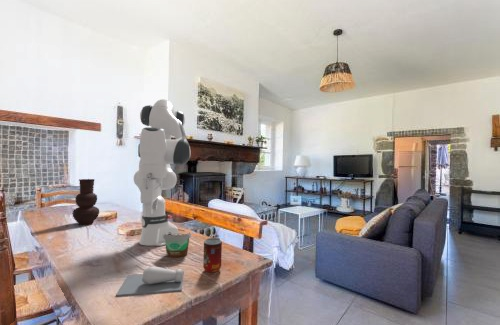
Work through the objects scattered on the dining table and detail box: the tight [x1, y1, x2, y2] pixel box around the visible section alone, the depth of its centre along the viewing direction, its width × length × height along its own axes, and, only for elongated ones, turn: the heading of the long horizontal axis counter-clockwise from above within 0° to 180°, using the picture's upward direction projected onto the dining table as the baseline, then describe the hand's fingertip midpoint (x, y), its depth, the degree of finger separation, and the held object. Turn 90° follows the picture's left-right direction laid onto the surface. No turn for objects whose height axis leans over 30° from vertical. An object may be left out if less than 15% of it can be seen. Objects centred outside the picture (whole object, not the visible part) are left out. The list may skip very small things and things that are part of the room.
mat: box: [115, 270, 185, 297], centre depth 86 cm, size 20×14×1 cm
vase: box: [71, 178, 100, 226], centre depth 166 cm, size 15×15×30 cm
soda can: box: [203, 237, 223, 275], centre depth 97 cm, size 7×7×12 cm
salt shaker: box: [142, 266, 184, 285], centre depth 86 cm, size 6×6×13 cm
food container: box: [164, 232, 192, 259], centre depth 111 cm, size 12×6×10 cm, turn 105°
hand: (151, 212), depth 86 cm, fingers open, 8 cm apart
